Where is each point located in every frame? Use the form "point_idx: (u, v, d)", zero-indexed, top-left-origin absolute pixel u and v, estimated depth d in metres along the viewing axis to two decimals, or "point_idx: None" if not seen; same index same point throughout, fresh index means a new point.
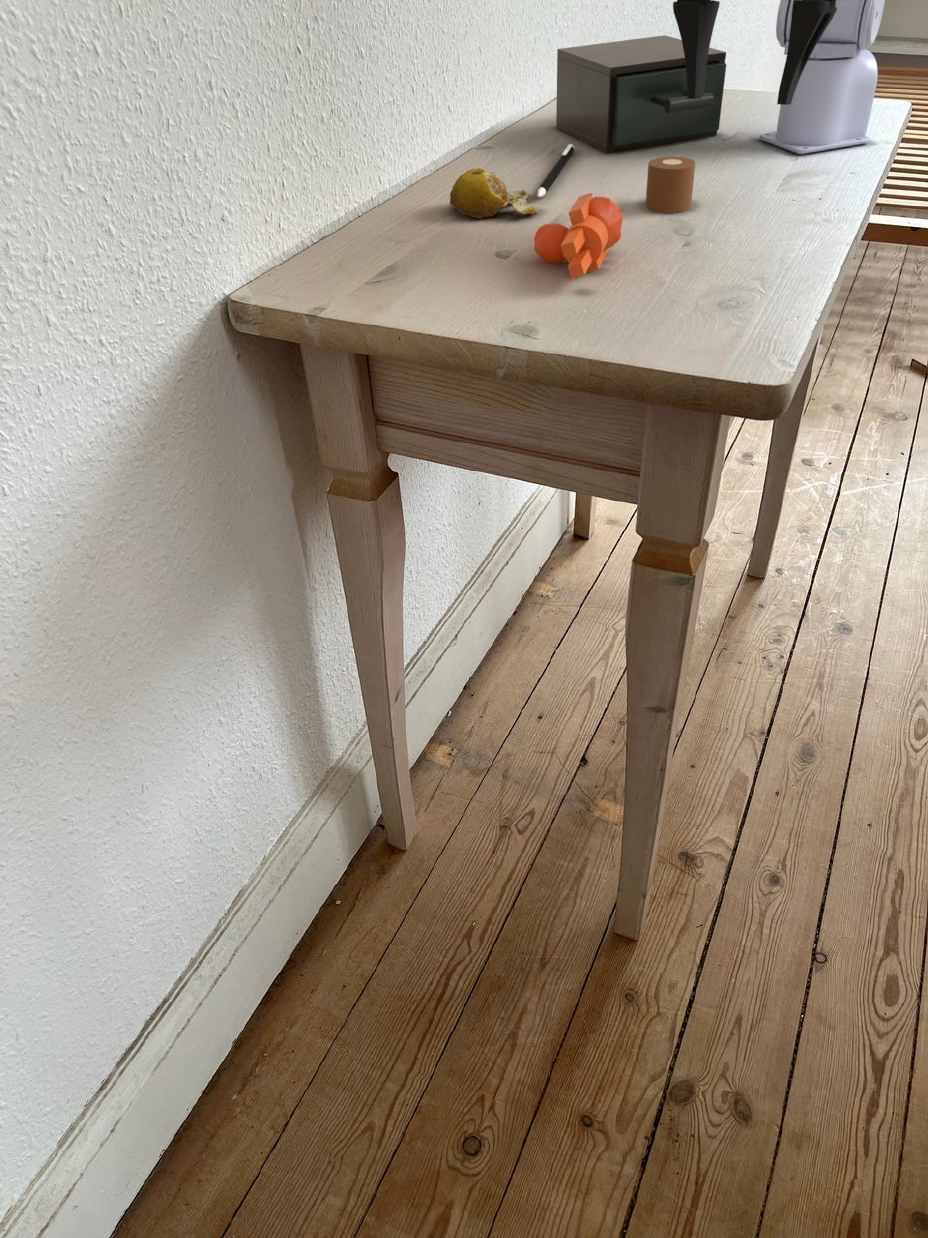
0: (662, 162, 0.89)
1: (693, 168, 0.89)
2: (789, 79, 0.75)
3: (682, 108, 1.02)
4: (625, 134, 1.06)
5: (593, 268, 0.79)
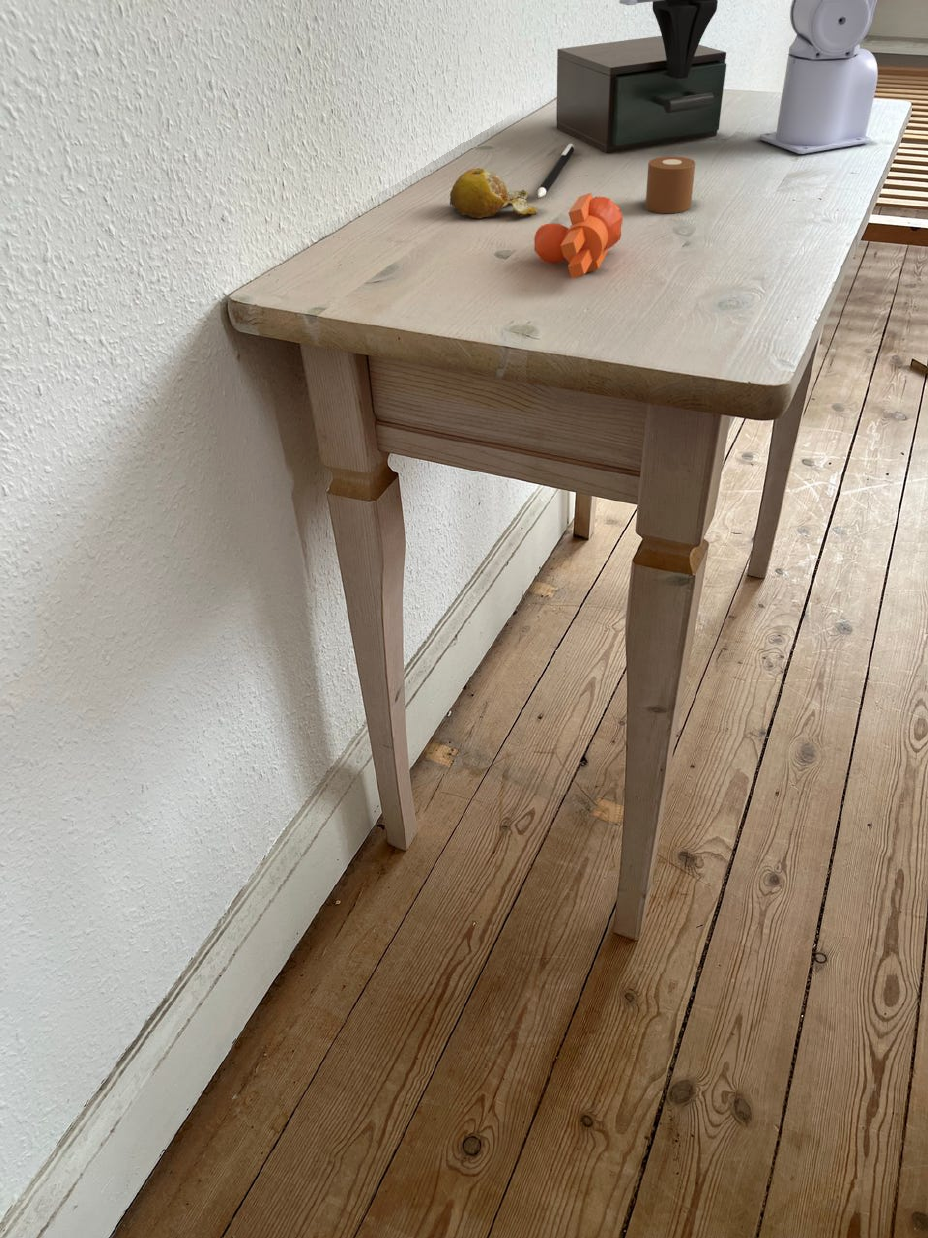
0: (662, 162, 0.89)
1: (693, 168, 0.89)
2: None
3: (682, 108, 1.02)
4: (625, 134, 1.06)
5: (593, 268, 0.79)
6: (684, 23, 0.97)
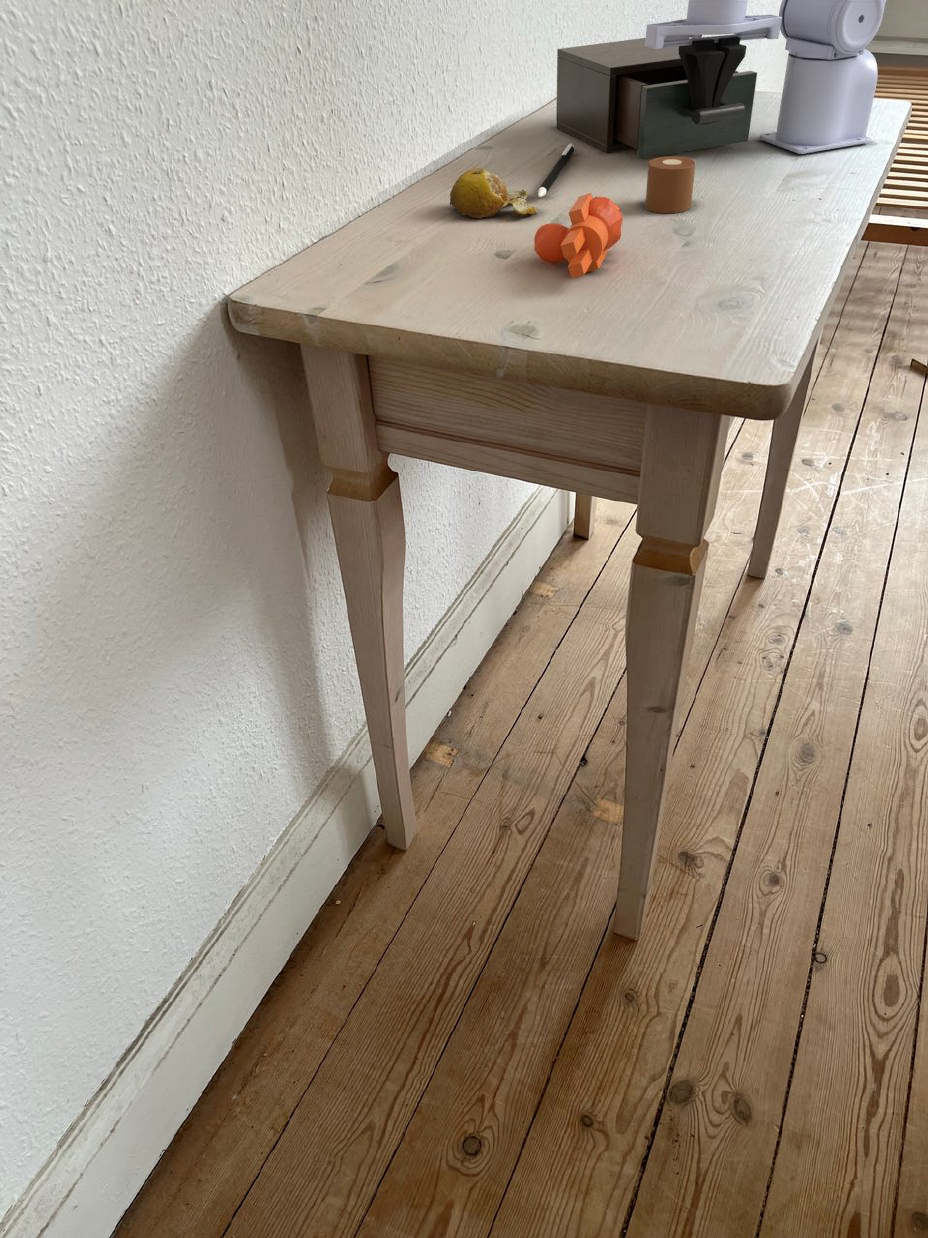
0: (662, 162, 0.89)
1: (693, 168, 0.89)
2: None
3: (712, 119, 0.98)
4: (651, 146, 1.01)
5: (593, 268, 0.79)
6: (711, 69, 0.95)
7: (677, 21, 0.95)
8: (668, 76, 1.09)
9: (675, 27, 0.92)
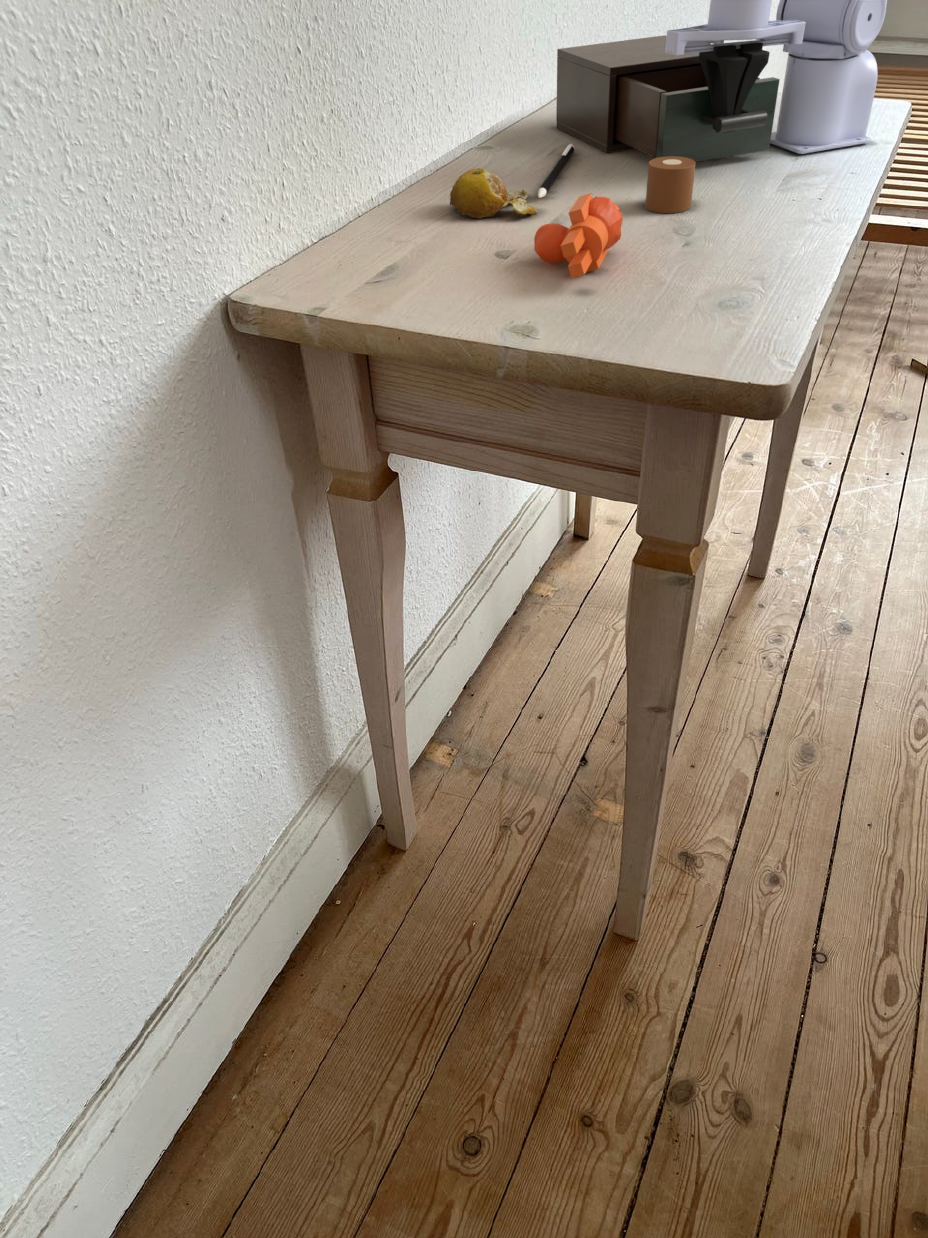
0: (662, 162, 0.89)
1: (693, 168, 0.89)
2: None
3: (734, 128, 0.95)
4: (670, 154, 0.98)
5: (593, 268, 0.79)
6: (733, 75, 0.92)
7: (698, 27, 0.92)
8: (686, 82, 1.06)
9: (697, 33, 0.89)
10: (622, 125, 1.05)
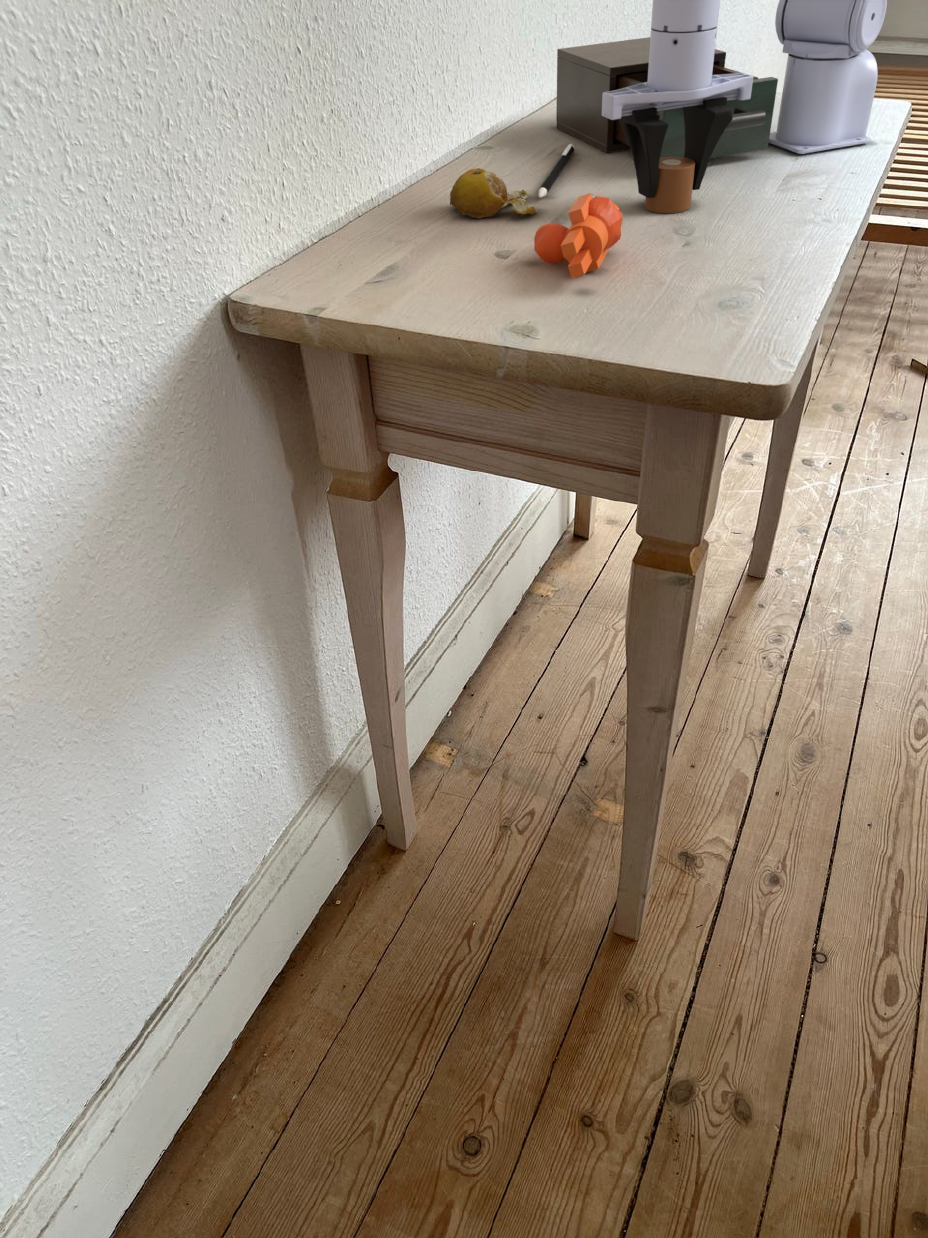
0: (662, 162, 0.89)
1: (693, 168, 0.89)
2: None
3: (732, 127, 0.95)
4: (669, 154, 0.99)
5: (593, 268, 0.79)
6: (654, 140, 0.85)
7: (637, 85, 0.86)
8: None
9: (633, 95, 0.83)
10: None
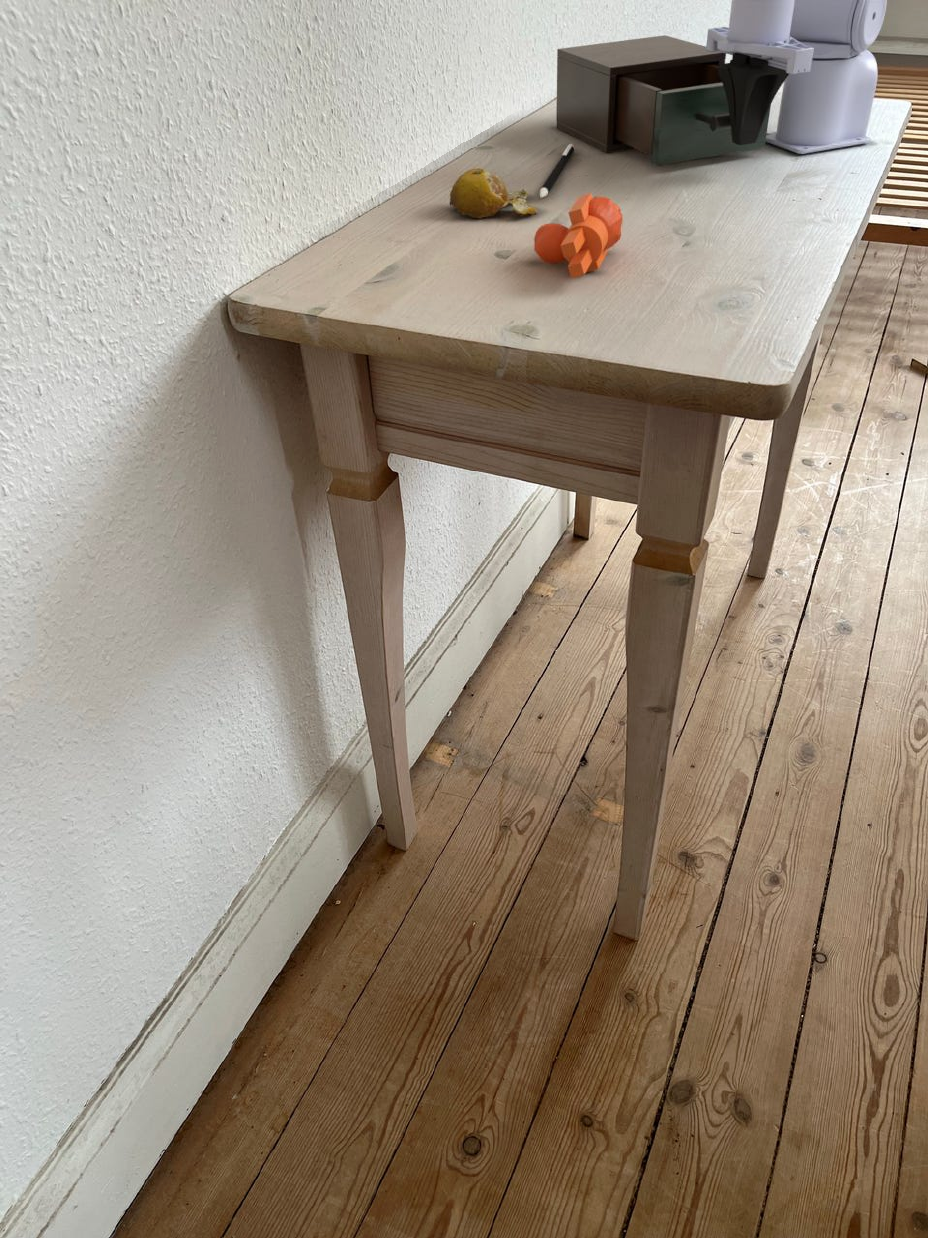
0: None
1: None
2: (738, 126, 0.93)
3: (729, 126, 0.95)
4: (666, 153, 0.99)
5: (593, 268, 0.79)
6: None
7: None
8: (682, 81, 1.07)
9: None
10: (618, 123, 1.06)
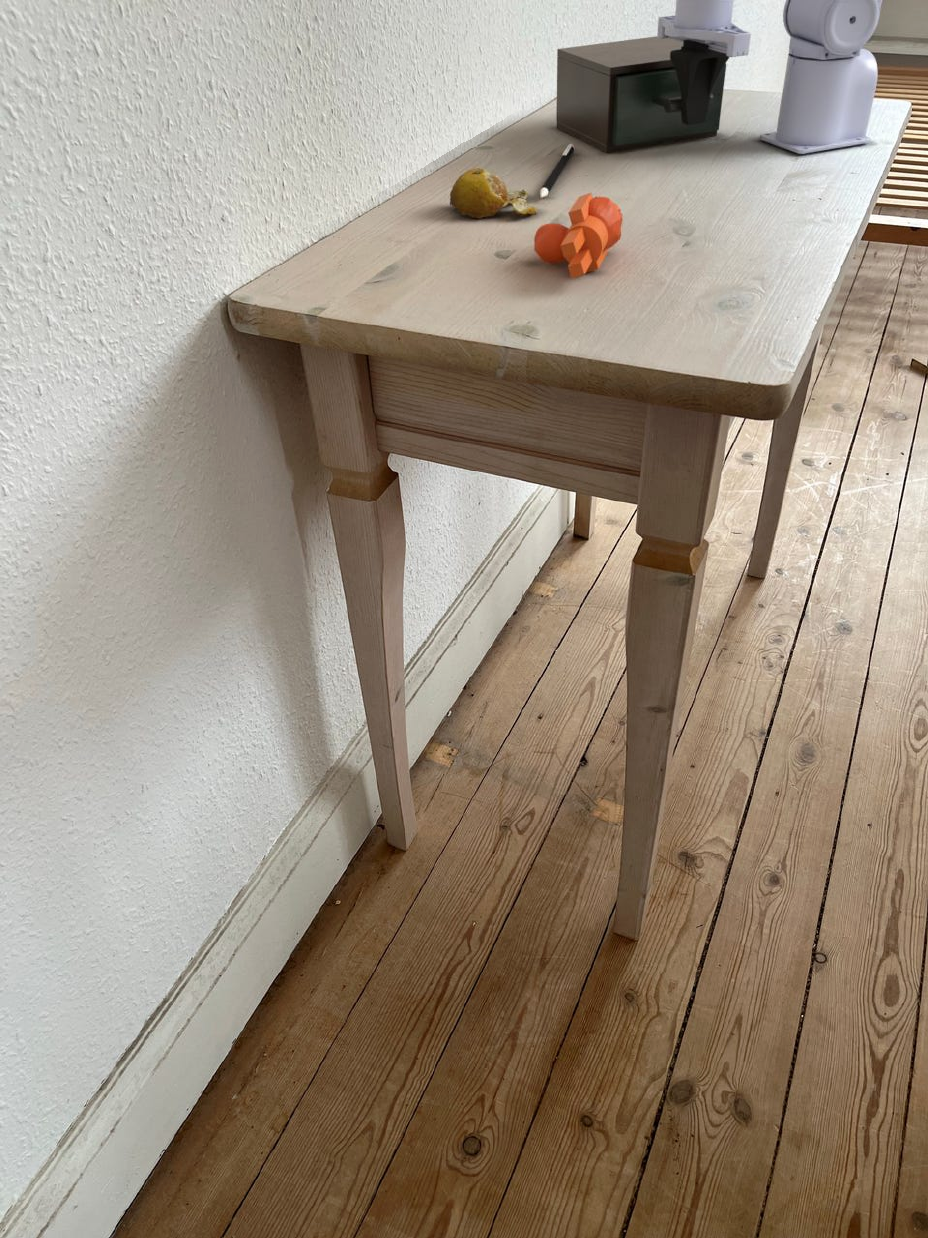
0: None
1: None
2: (684, 106, 1.01)
3: None
4: (625, 134, 1.06)
5: (593, 268, 0.79)
6: None
7: None
8: None
9: (742, 31, 0.93)
10: None
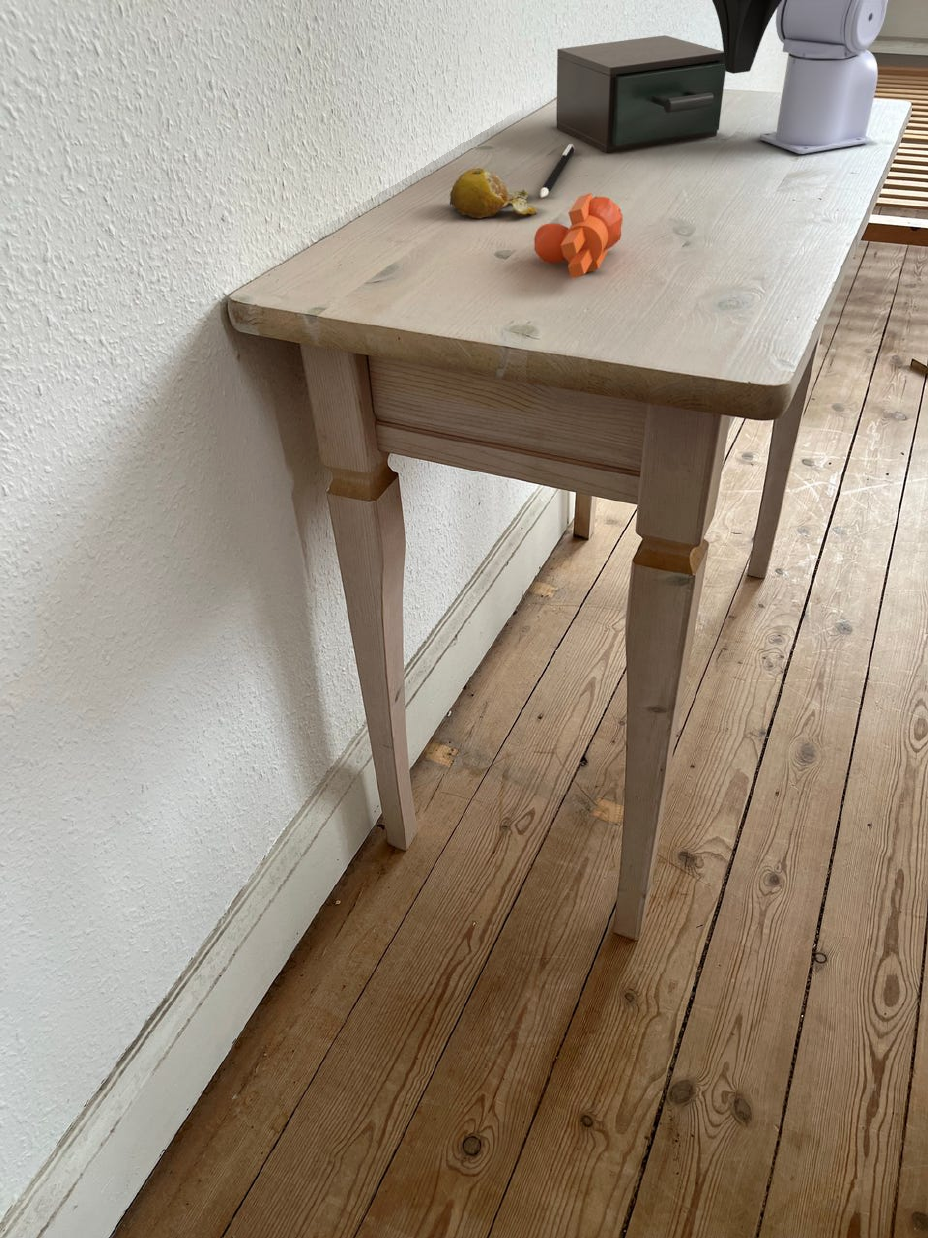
0: None
1: None
2: (732, 53, 0.91)
3: (682, 108, 1.02)
4: (625, 134, 1.06)
5: (593, 268, 0.79)
6: None
7: None
8: None
9: None
10: None
